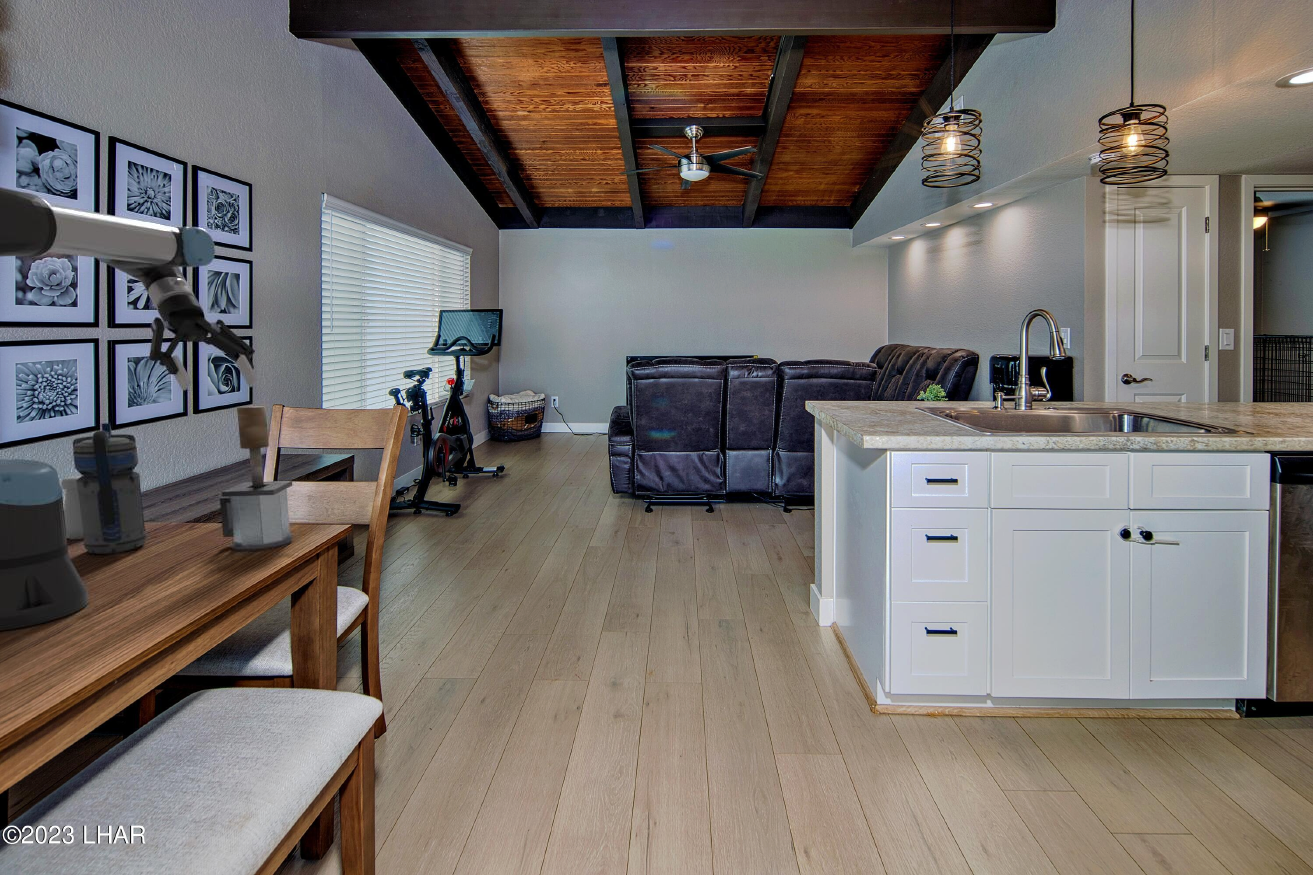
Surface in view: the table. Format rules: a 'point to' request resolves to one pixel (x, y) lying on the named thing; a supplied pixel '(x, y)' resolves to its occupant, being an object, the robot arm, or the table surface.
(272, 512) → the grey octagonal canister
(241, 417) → the plunger
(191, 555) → the table surface
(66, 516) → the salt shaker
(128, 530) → the beverage bottle
